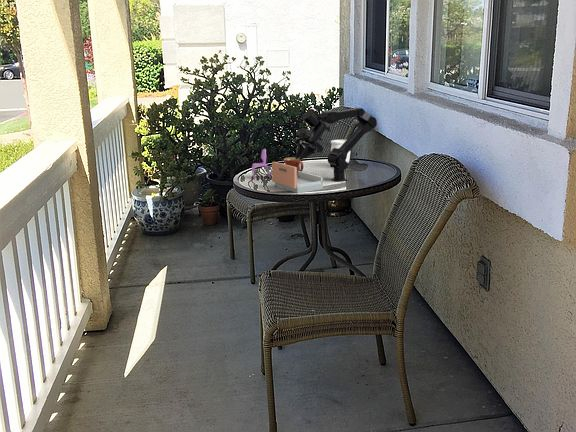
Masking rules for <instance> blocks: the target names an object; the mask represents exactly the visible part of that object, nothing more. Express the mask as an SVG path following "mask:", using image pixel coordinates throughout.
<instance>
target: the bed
mask: <svg viewBox="0 0 576 432" xmlns="http://www.w3.org/2000/svg"><path fill="white" fill-rule="evenodd" d="M323 179H324V178H323V176H320V175H315V174H312V173H308V172H306V171H305V172H304V171H302V172H301V171H298V175H297V188H292V187H289V186H286V185H282V184H279V183H276V182H274V186H275V187H277V188H280V189H283V190H286V191H290V192H293V193H296V192H297V193H296V194H300V193H299V192H301V193H306V192H311V191H312V192H313V191H318V190H322V189H324V180H323Z"/></svg>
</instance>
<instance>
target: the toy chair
mask: <svg viewBox="0 0 576 432" xmlns="http://www.w3.org/2000/svg"><path fill="white" fill-rule="evenodd" d="M260 155H261V156H260V158H261V160H262V162H257V163H255V162H254V163H252V166H251V174H252V178H253V179H254V180H255V179H256V176H255V169H256V168H260V167H265V169H266V174H267V177H269V178H270V179H272V176H271V175H270V170H269V167H268V164H267V149H266V148H263V149H262V150H261V154H260Z"/></svg>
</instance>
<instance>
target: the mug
mask: <svg viewBox="0 0 576 432" xmlns="http://www.w3.org/2000/svg"><path fill="white" fill-rule="evenodd" d="M295 157H296V156H292V157H285V158H283V161H284V164H286V165H290V166H294V167H297V175H298V171H301V172H304V162H303V161H302V160H300V159H299V158H300V157H299V158H298V159H296V158H295Z"/></svg>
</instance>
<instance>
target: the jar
mask: <svg viewBox="0 0 576 432" xmlns="http://www.w3.org/2000/svg"><path fill="white" fill-rule="evenodd" d="M346 140H347V139H342V138H340V139H332V140H330V144H331V147H330V152H331V151H332V149H333V148H337V149H338V148H340V147H341V146H342V145H343V143H344V142H345V141H346ZM350 157H351V150H350V151H349V152H348V154H347V158H346V160H345V161H346V162H347V163H348V164H349V163H350ZM348 168H349V166H348Z"/></svg>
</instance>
